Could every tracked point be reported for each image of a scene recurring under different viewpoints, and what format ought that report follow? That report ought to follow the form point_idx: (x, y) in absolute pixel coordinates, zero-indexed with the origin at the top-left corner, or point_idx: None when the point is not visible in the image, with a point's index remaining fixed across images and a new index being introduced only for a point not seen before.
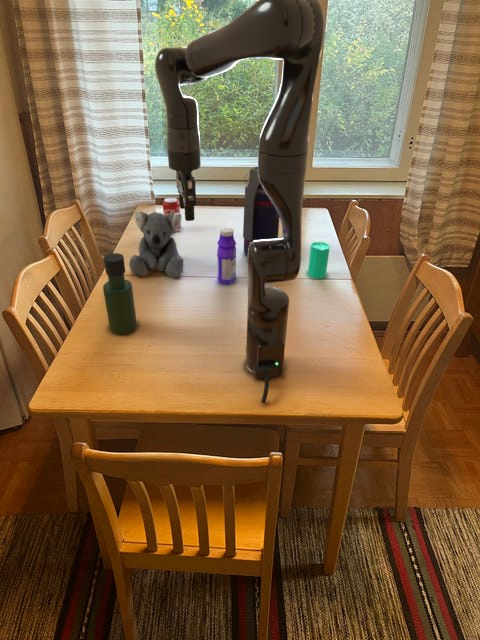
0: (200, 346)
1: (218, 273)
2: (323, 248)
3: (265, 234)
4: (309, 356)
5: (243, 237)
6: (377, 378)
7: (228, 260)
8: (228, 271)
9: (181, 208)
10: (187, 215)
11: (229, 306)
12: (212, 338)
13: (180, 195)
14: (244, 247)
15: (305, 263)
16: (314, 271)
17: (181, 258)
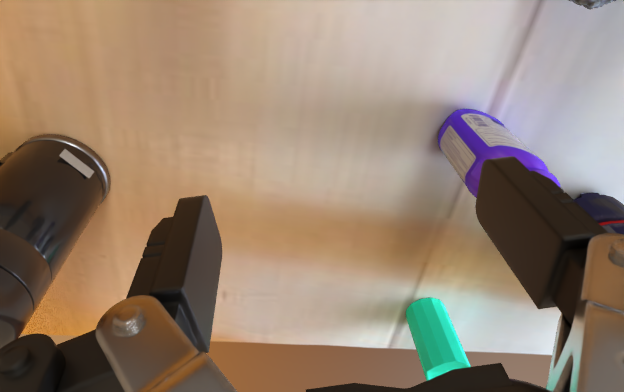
0: (124, 26)
1: (466, 121)
2: (436, 374)
3: None
4: (116, 253)
5: (606, 226)
6: (69, 328)
7: (464, 175)
8: (449, 155)
9: (483, 164)
10: (148, 245)
11: (325, 124)
12: (167, 64)
13: (551, 242)
14: (599, 203)
15: (479, 300)
16: (415, 317)
17: (594, 3)
